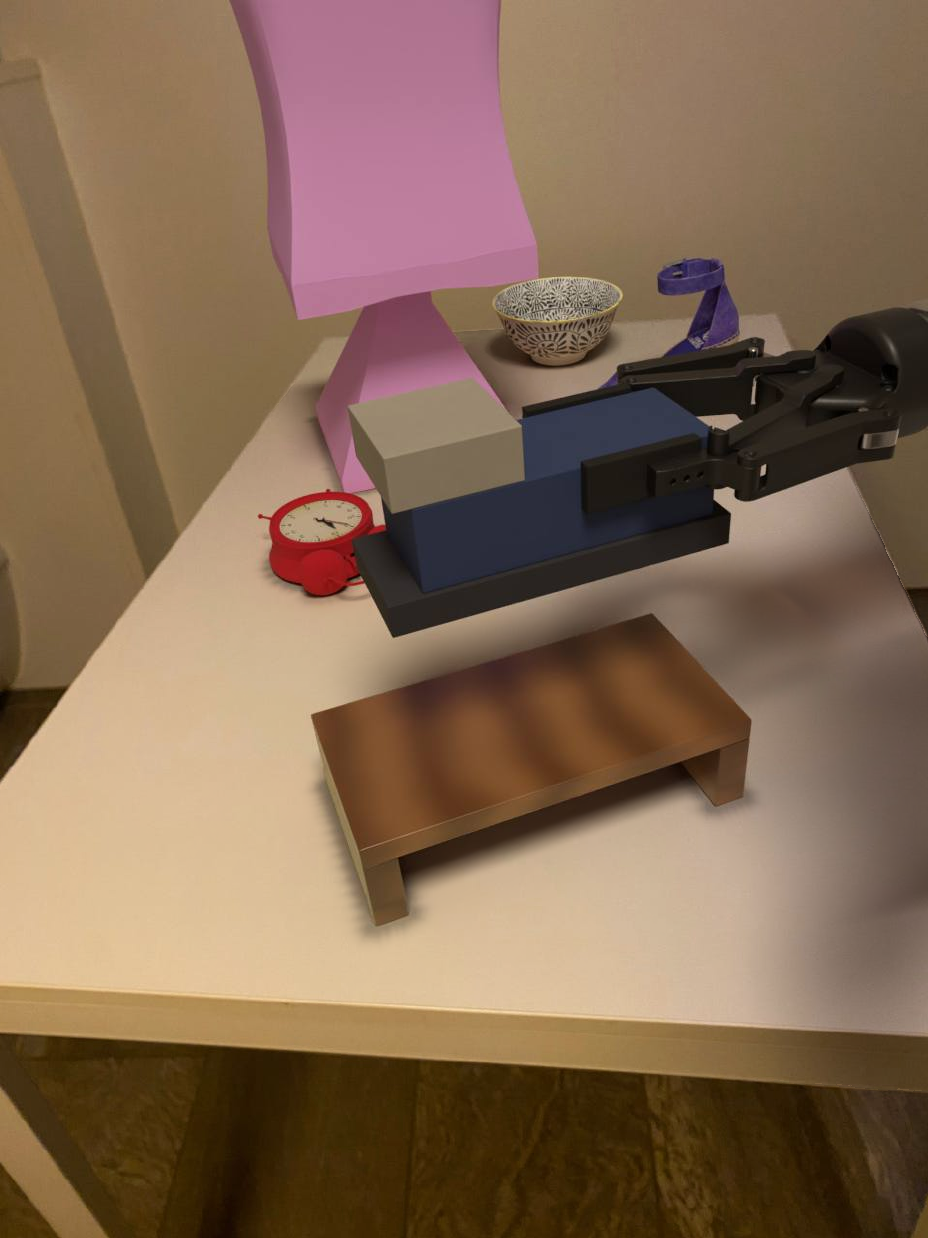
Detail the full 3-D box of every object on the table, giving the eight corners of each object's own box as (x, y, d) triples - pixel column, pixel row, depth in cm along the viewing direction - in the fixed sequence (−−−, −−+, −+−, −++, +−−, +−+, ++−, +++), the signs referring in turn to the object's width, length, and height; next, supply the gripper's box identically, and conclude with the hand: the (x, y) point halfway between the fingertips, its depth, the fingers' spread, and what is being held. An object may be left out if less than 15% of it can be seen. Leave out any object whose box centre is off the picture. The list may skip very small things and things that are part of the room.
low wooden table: (649, 685, 69) (652, 612, 66) (743, 797, 60) (752, 719, 56) (328, 786, 64) (310, 713, 60) (375, 927, 55) (358, 851, 51)
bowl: (628, 375, 115) (629, 313, 110) (496, 385, 116) (491, 323, 112) (615, 329, 128) (615, 271, 123) (496, 338, 129) (492, 281, 124)
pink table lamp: (486, 382, 117) (451, -72, 90) (546, 459, 99) (524, -77, 73) (305, 416, 113) (212, -45, 87) (333, 503, 96) (228, -44, 69)
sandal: (555, 409, 109) (550, 275, 100) (721, 382, 111) (731, 248, 102) (574, 439, 102) (571, 298, 94) (751, 410, 104) (765, 269, 95)
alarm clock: (338, 476, 92) (413, 501, 80) (355, 536, 95) (430, 569, 83) (238, 513, 88) (301, 545, 76) (259, 575, 91) (323, 616, 78)
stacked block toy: (662, 487, 60) (668, 331, 55) (729, 543, 54) (743, 375, 49) (356, 567, 56) (327, 407, 50) (392, 638, 50) (364, 466, 44)
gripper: (1023, 498, 52) (640, 610, 46) (798, 375, 67) (491, 449, 62) (1062, 363, 47) (643, 471, 42) (811, 265, 63) (483, 335, 58)
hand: (553, 457), depth 52 cm, fingers closed on stacked block toy, 7 cm apart
